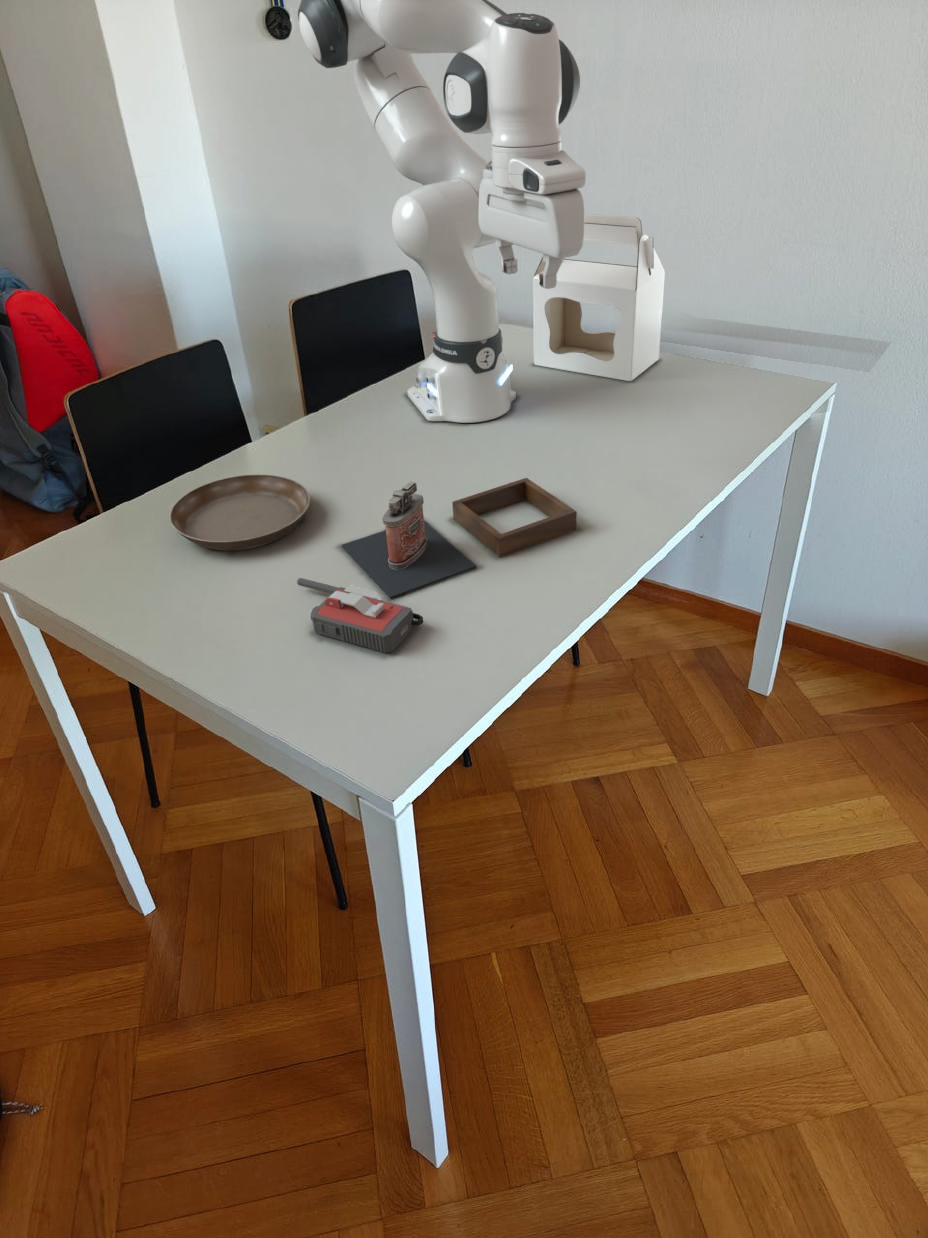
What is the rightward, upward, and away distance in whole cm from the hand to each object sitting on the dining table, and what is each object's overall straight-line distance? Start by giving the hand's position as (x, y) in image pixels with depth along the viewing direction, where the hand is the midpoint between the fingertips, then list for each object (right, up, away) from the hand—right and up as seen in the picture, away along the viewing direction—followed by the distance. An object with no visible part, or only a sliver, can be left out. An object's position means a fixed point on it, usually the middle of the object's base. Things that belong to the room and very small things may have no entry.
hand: (528, 279), depth 121 cm
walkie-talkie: (-23, -47, -9) cm, 53 cm away
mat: (-17, -38, +3) cm, 41 cm away
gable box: (+18, +6, +60) cm, 63 cm away
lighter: (-17, -37, +3) cm, 41 cm away
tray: (-1, -32, +8) cm, 34 cm away
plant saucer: (-42, -32, +13) cm, 54 cm away
